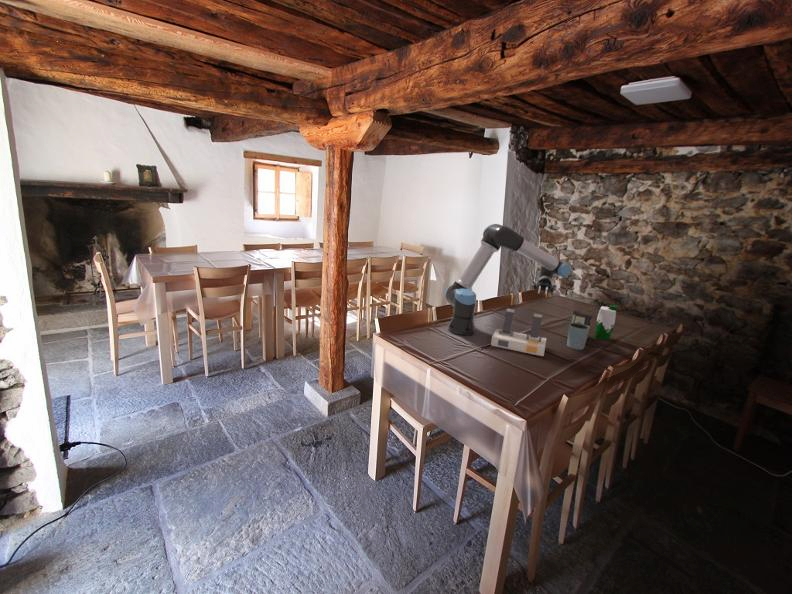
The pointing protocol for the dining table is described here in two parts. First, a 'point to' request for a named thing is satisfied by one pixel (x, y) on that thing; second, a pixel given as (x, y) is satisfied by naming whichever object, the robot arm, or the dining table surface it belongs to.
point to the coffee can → (582, 318)
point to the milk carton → (605, 322)
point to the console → (519, 342)
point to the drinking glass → (577, 335)
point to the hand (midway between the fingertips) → (542, 291)
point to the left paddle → (508, 320)
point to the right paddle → (536, 325)
